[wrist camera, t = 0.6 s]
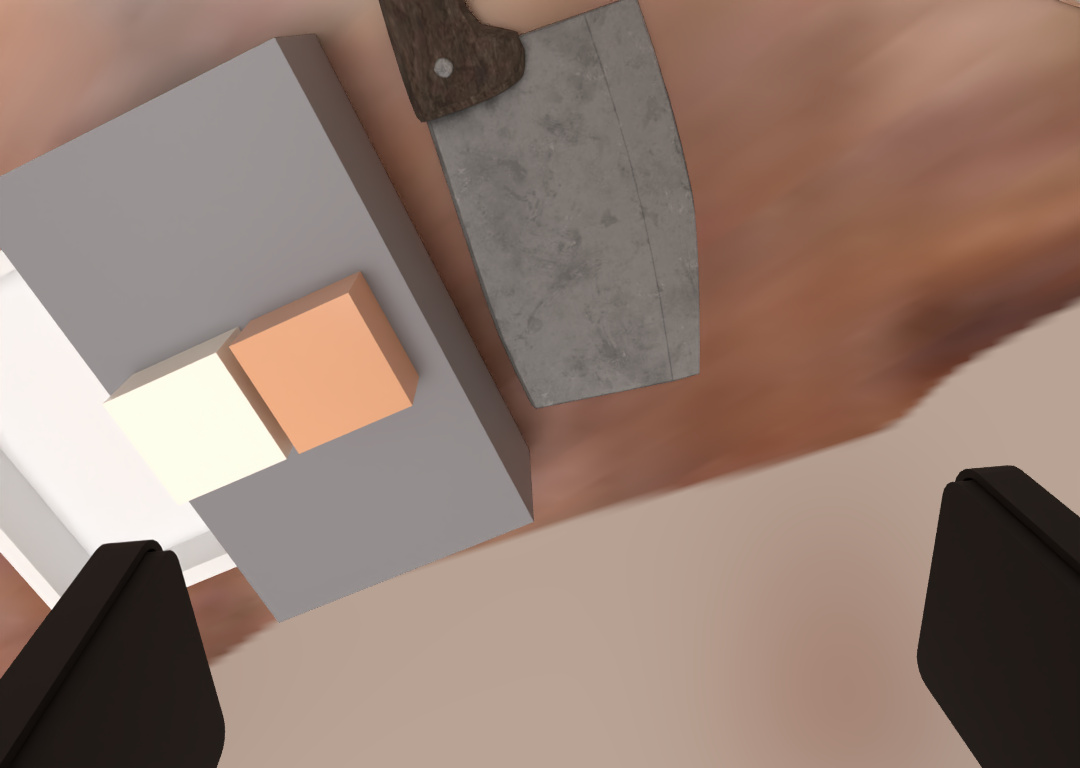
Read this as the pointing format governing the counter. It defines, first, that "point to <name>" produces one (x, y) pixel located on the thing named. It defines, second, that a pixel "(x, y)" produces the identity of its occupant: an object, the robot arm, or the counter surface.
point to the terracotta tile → (327, 363)
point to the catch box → (74, 462)
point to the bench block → (263, 286)
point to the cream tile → (199, 420)
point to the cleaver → (563, 190)
